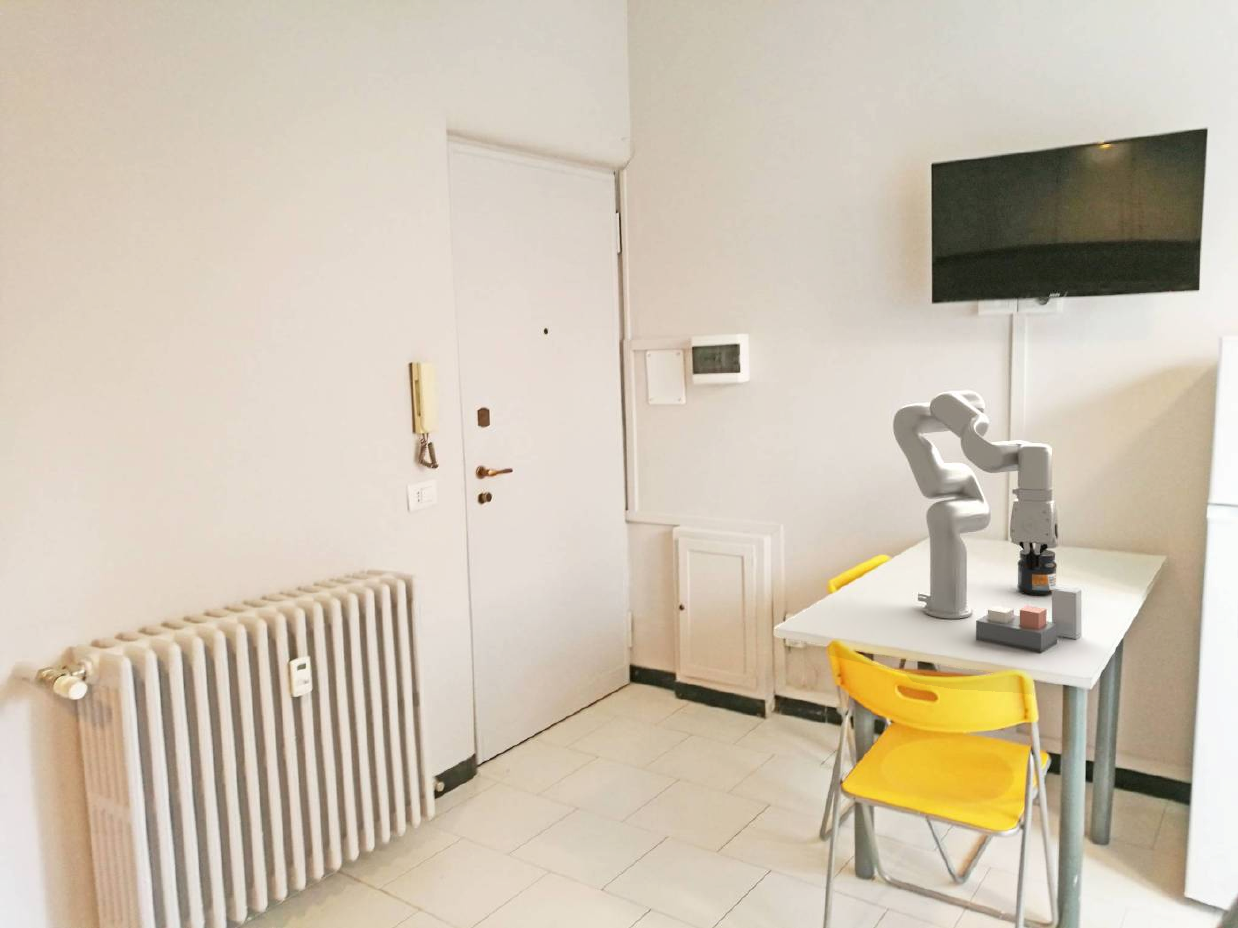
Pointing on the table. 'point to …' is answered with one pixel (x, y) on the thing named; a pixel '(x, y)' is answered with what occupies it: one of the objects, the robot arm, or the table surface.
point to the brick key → (1033, 617)
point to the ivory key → (1001, 614)
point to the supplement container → (1037, 575)
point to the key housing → (1017, 634)
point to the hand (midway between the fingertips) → (1034, 569)
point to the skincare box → (1067, 611)
